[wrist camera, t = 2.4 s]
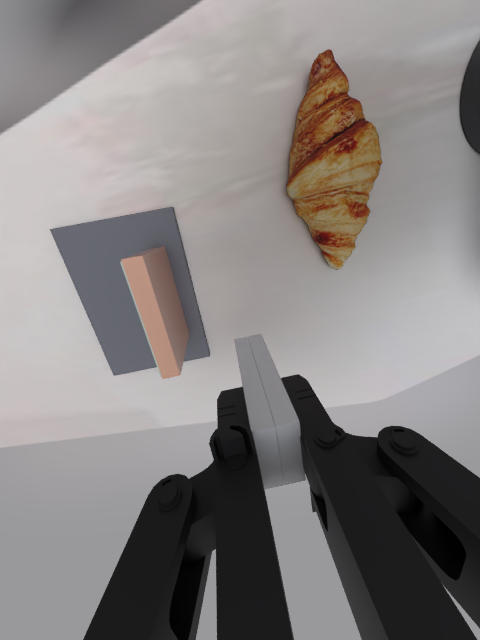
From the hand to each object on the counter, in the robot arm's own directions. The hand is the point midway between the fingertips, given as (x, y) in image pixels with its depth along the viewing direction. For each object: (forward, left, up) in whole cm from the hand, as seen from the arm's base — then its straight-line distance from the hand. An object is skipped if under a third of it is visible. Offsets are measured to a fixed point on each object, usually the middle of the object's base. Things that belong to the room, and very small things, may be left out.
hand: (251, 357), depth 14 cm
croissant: (-13, -10, -21) cm, 26 cm away
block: (+8, 0, -19) cm, 21 cm away
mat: (+12, 0, -20) cm, 24 cm away
